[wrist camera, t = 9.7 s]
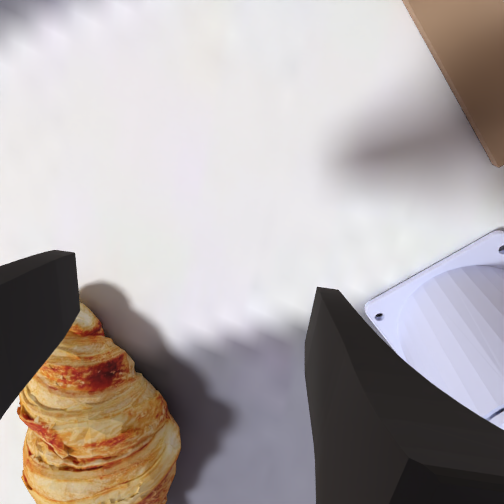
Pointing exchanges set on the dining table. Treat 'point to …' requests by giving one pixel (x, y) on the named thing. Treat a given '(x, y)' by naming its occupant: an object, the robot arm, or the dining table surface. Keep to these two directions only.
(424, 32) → the board
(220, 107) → the dining table surface
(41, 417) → the croissant
